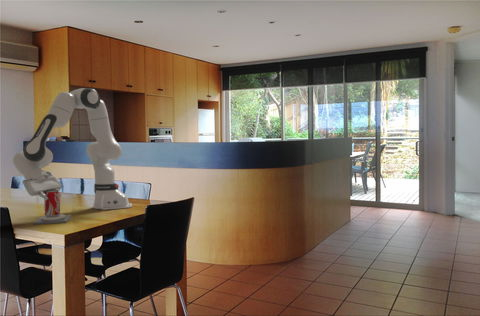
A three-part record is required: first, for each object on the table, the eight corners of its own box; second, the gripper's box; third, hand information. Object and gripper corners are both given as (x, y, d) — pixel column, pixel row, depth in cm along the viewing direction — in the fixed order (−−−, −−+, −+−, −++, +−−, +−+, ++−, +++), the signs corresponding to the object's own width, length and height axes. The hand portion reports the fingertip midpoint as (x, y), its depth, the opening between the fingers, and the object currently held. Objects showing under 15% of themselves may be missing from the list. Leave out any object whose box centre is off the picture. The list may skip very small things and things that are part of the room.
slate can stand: (71, 216, 222) (71, 212, 221) (66, 222, 207) (66, 218, 207) (40, 218, 218) (40, 214, 218) (33, 224, 203) (33, 220, 203)
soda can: (41, 216, 211) (40, 191, 211) (54, 214, 217) (53, 189, 217) (50, 218, 208) (49, 192, 207) (63, 215, 214) (62, 190, 213)
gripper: (24, 176, 203) (41, 197, 201) (54, 172, 223) (70, 191, 220) (17, 185, 204) (34, 205, 202) (47, 180, 224) (63, 199, 222)
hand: (53, 198), depth 211 cm, fingers open, 7 cm apart
